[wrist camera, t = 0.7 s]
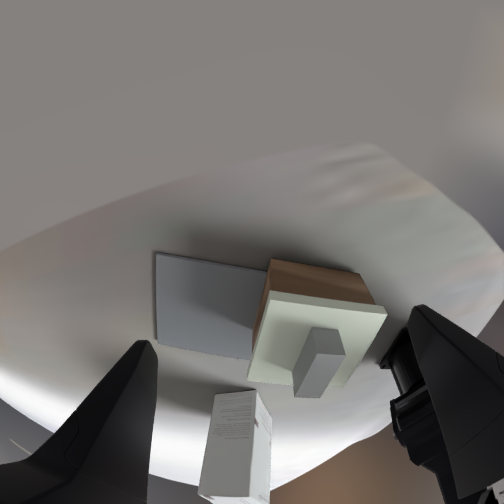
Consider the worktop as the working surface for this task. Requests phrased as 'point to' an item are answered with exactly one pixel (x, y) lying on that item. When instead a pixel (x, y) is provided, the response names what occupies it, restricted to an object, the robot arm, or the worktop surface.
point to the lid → (312, 341)
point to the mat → (207, 305)
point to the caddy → (310, 285)
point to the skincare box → (237, 451)
